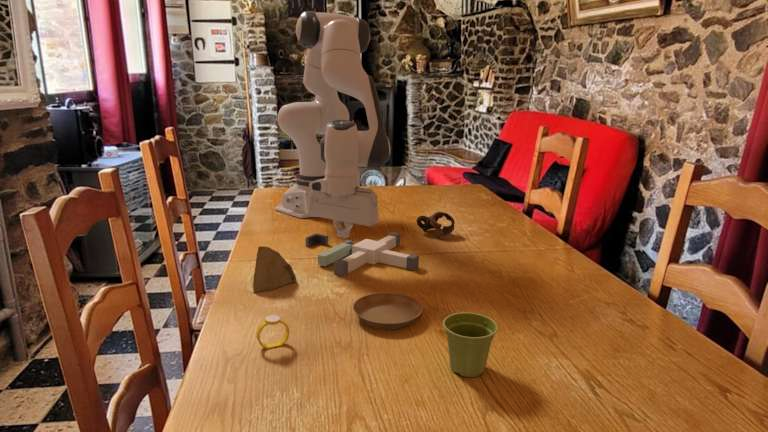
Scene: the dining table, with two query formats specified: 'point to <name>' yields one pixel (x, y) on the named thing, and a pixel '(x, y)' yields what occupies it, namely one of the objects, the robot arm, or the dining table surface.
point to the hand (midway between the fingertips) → (343, 236)
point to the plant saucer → (387, 310)
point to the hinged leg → (335, 253)
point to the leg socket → (316, 239)
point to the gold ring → (272, 321)
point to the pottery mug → (436, 224)
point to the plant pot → (469, 342)
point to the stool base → (376, 255)
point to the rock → (271, 271)
